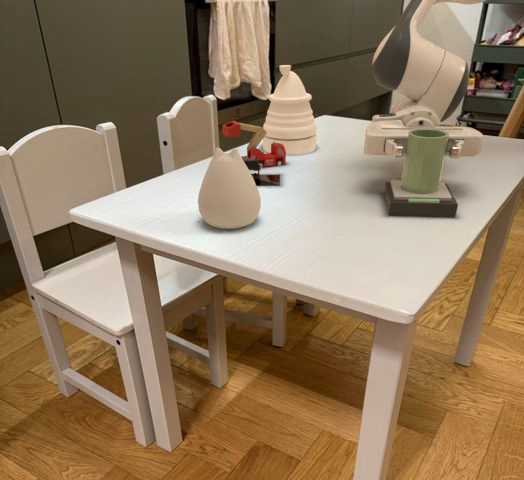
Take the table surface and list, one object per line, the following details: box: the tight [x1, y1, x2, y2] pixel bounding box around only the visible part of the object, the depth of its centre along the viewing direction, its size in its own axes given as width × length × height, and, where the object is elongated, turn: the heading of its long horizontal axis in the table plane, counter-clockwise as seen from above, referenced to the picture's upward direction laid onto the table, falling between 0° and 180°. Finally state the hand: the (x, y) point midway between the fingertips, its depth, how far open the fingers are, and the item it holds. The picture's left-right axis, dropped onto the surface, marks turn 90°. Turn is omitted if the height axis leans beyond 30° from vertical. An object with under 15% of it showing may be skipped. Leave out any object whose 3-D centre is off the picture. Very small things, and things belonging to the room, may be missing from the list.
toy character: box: [197, 147, 262, 230], centre depth 81 cm, size 10×10×12 cm
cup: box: [400, 129, 449, 194], centre depth 85 cm, size 6×6×9 cm
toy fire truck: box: [221, 120, 287, 169], centre depth 107 cm, size 3×14×10 cm, turn 111°
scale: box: [383, 178, 459, 219], centre depth 88 cm, size 11×11×3 cm
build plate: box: [242, 157, 281, 187], centre depth 101 cm, size 12×7×5 cm, turn 89°
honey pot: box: [262, 64, 317, 156], centre depth 117 cm, size 13×13×18 cm
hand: (427, 152), depth 83 cm, fingers open, 8 cm apart
